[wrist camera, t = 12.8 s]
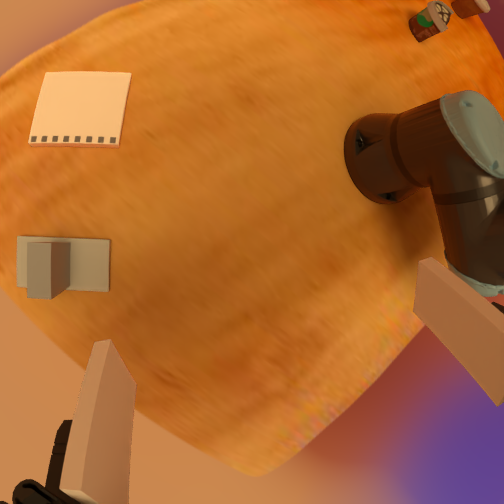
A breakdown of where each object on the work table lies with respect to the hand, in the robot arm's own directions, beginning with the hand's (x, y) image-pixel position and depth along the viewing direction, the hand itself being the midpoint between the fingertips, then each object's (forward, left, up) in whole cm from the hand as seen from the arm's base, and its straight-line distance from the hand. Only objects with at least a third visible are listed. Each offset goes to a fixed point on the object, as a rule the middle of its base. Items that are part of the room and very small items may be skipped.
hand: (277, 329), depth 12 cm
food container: (-74, -15, -28) cm, 81 cm away
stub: (+11, -9, -28) cm, 32 cm away
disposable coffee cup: (-113, -17, -28) cm, 118 cm away
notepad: (-1, -24, -28) cm, 37 cm away
